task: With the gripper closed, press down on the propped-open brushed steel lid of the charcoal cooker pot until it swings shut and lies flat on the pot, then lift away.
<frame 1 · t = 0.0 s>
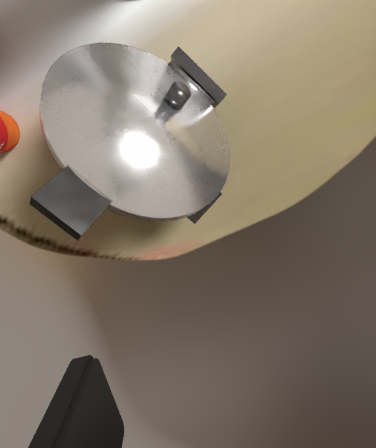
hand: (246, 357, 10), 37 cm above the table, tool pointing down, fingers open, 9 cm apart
paper cup: (1, 131, 43), on the table
cooker pot: (147, 148, 44), on the table
cooker lid: (142, 131, 26), point 18 cm above the table, hinge at 45.0°
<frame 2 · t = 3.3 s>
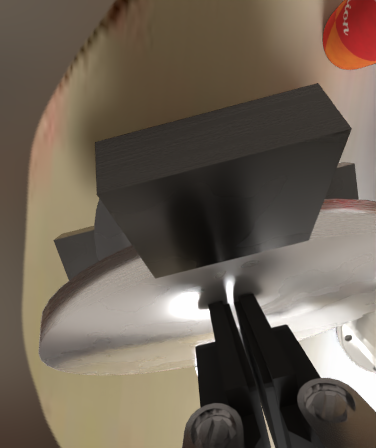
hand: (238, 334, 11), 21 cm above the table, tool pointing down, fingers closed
paper cup: (351, 37, 27), on the table
cooker pot: (200, 209, 31), on the table
cooker lid: (237, 326, 14), point 18 cm above the table, hinge at 43.3°, touching gripper
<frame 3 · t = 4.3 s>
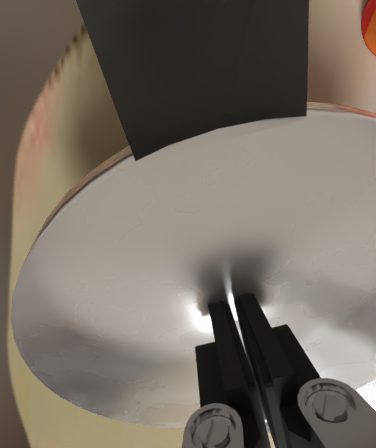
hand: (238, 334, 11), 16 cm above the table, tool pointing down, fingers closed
cooker lid: (250, 320, 11), point 15 cm above the table, hinge at 24.1°, touching gripper
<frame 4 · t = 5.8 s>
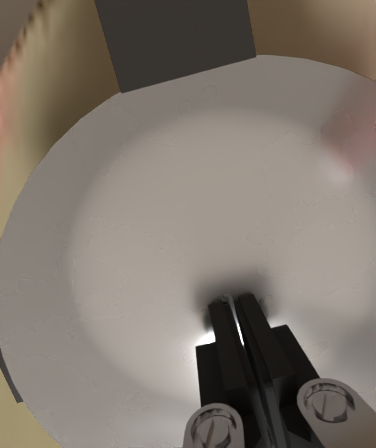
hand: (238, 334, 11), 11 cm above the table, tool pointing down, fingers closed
cooker lid: (239, 294, 10), point 11 cm above the table, hinge at 0.4°, touching gripper
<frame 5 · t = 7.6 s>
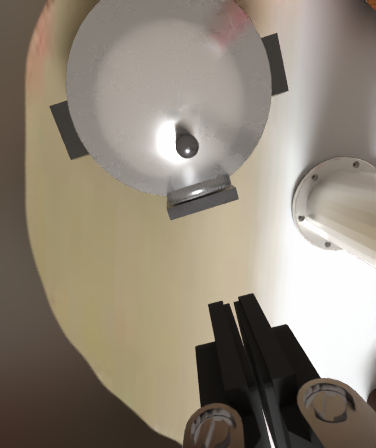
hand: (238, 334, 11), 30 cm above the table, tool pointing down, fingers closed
cooker pot: (170, 110, 37), on the table
cooker lid: (165, 77, 25), point 11 cm above the table, hinge at 0.2°
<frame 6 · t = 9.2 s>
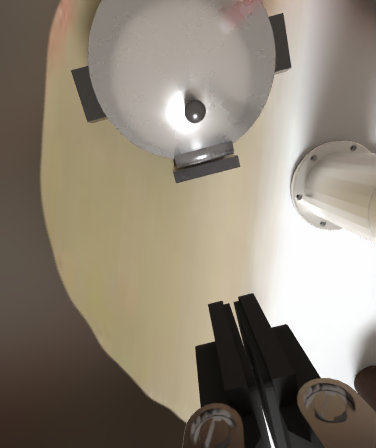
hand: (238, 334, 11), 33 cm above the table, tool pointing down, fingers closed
cooker pot: (181, 86, 39), on the table
cooker lid: (179, 47, 28), point 11 cm above the table, hinge at 0.2°
coffee mug: (375, 385, 53), on the table
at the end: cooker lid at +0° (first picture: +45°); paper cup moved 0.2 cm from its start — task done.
